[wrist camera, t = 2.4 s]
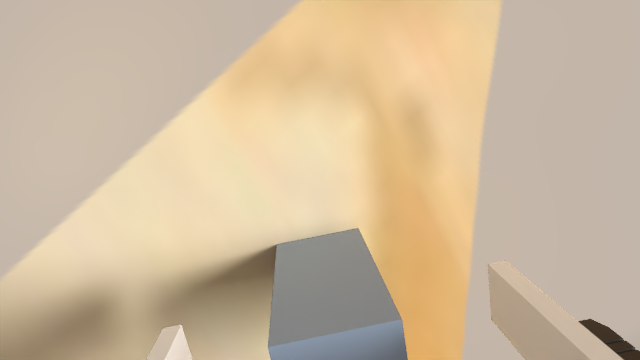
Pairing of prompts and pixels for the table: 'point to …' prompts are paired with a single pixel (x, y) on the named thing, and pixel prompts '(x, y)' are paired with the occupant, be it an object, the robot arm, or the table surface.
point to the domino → (332, 303)
